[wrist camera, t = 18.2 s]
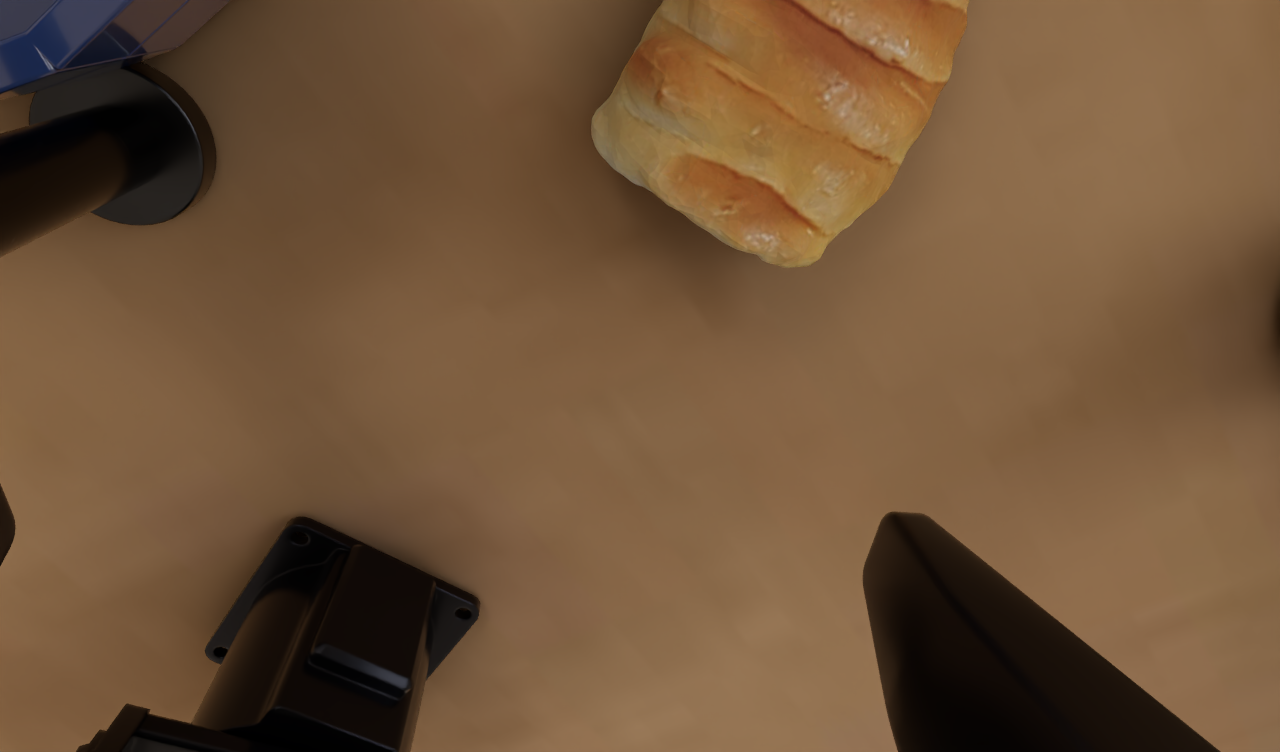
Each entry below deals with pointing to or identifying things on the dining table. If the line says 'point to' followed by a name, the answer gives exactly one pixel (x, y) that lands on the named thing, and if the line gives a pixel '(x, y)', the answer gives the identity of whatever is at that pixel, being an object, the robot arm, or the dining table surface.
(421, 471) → the dining table surface
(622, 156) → the pastry
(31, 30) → the basin
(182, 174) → the tap
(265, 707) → the robot arm
